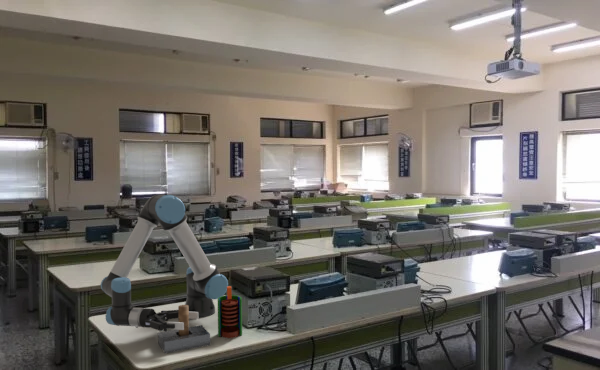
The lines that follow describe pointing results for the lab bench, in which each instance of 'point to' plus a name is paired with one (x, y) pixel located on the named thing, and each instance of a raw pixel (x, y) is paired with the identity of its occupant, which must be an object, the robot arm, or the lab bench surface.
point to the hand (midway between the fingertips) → (191, 320)
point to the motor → (229, 315)
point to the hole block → (183, 339)
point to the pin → (184, 319)
